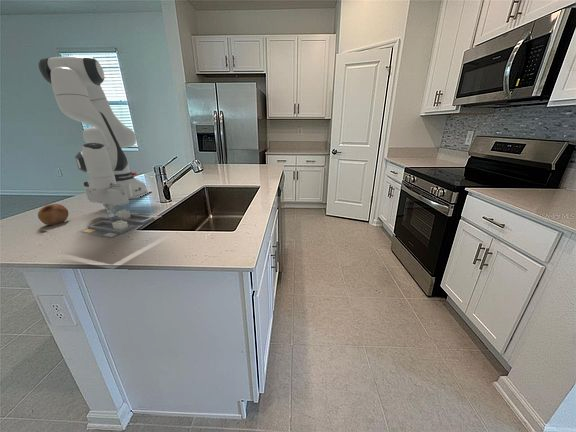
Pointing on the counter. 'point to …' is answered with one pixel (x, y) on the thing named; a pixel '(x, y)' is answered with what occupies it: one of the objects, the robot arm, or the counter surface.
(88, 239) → the counter surface
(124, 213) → the tab
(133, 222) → the switch bank
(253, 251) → the counter surface
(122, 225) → the tab
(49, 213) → the onion
